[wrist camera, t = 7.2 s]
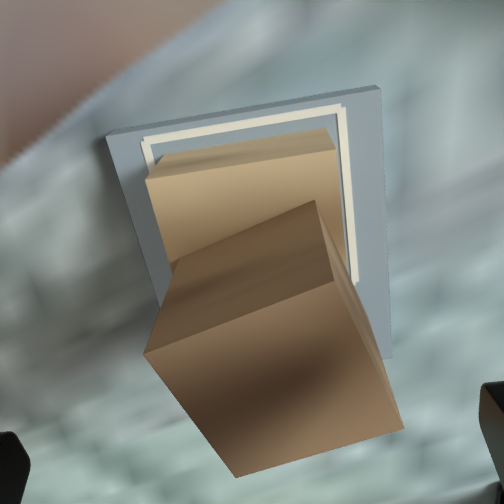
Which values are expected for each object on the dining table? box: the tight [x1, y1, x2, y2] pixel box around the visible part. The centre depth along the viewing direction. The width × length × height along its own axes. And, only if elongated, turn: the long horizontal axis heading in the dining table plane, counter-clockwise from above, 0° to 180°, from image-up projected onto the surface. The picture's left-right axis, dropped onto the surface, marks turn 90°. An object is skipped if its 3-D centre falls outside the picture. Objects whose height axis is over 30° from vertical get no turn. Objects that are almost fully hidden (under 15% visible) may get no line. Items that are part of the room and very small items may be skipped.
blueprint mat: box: [105, 85, 392, 359], centre depth 19 cm, size 12×10×1 cm
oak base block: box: [145, 128, 347, 274], centre depth 17 cm, size 6×6×3 cm
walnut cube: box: [143, 200, 404, 478], centre depth 14 cm, size 5×5×5 cm
